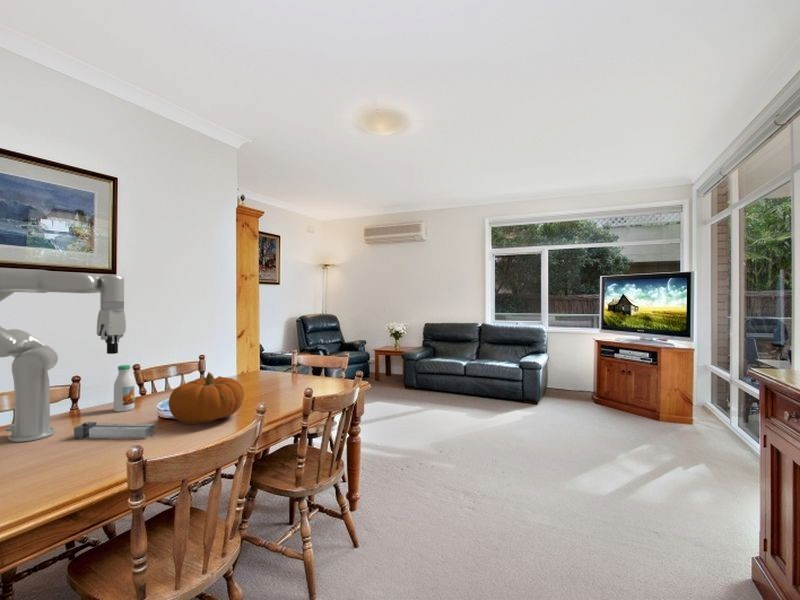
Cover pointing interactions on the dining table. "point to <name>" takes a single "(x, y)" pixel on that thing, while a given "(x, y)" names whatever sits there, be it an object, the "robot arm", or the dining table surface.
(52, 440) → the dining table surface
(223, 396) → the pumpkin
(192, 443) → the dining table surface
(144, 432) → the arm
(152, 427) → the tongs free arm
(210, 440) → the dining table surface
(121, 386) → the milk bottle
